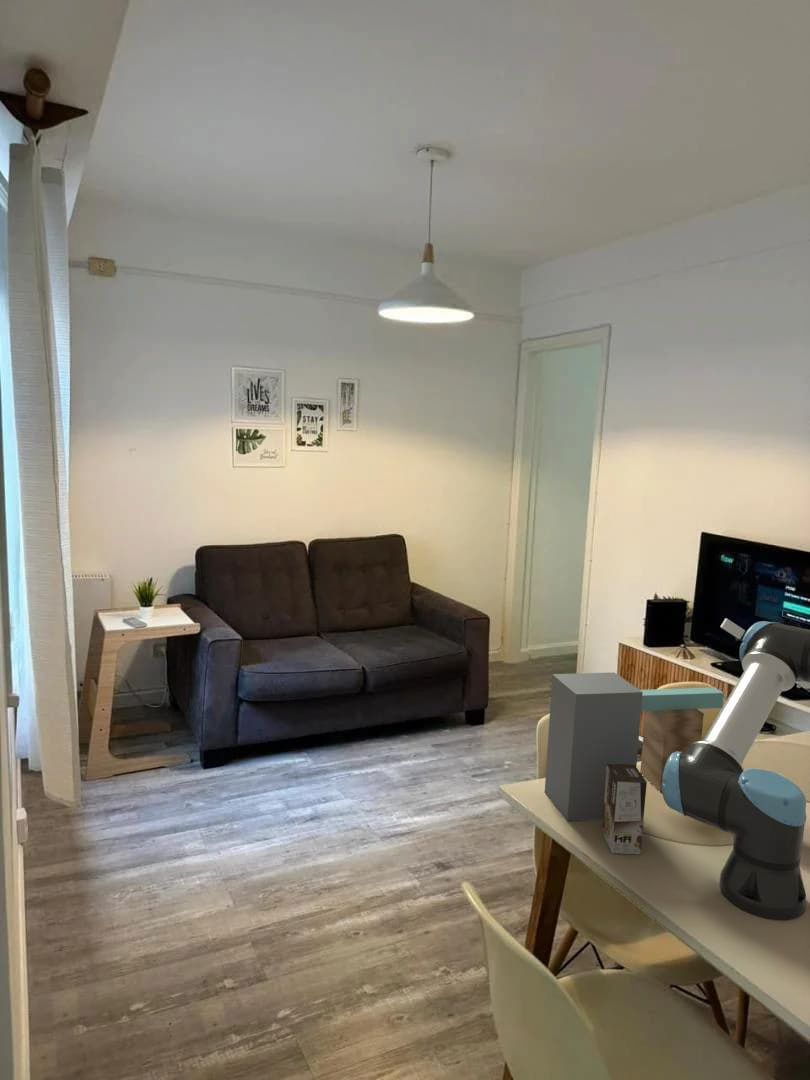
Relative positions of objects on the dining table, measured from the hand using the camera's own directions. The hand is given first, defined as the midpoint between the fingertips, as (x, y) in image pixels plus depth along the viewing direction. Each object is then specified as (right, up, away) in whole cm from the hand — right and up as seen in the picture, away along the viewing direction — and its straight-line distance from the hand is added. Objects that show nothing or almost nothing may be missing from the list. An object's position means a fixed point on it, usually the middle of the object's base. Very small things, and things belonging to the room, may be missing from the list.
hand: (739, 629), depth 193 cm
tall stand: (-41, -40, -11) cm, 59 cm away
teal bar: (-17, -19, -1) cm, 26 cm away
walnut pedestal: (-18, -39, +2) cm, 43 cm away
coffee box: (-38, -43, -28) cm, 64 cm away
